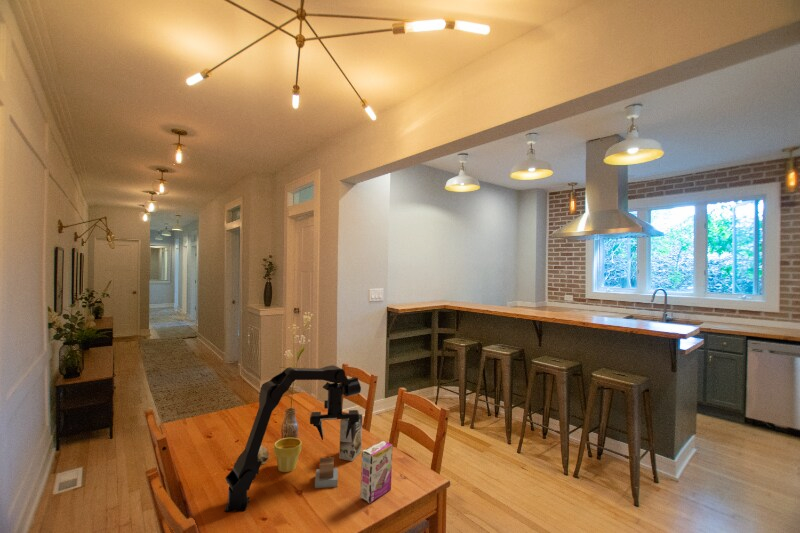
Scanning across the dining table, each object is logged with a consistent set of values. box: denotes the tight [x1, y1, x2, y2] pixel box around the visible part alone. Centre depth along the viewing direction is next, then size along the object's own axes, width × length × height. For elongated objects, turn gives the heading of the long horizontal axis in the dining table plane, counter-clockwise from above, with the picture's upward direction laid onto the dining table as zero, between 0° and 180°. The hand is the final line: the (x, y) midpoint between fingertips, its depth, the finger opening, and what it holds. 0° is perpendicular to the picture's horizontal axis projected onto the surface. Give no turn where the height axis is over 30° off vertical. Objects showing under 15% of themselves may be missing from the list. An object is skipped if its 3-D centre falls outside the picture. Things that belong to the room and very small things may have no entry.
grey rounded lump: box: [258, 444, 270, 466], centre depth 151 cm, size 10×10×8 cm
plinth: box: [314, 467, 339, 489], centre depth 137 cm, size 8×8×2 cm
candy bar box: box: [360, 440, 393, 505], centre depth 130 cm, size 11×5×16 cm, turn 141°
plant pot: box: [273, 437, 303, 473], centre depth 146 cm, size 10×10×10 cm
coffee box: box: [338, 413, 363, 462], centre depth 157 cm, size 9×6×16 cm
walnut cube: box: [319, 456, 335, 479], centre depth 137 cm, size 5×5×5 cm
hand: (334, 438), depth 145 cm, fingers open, 9 cm apart
